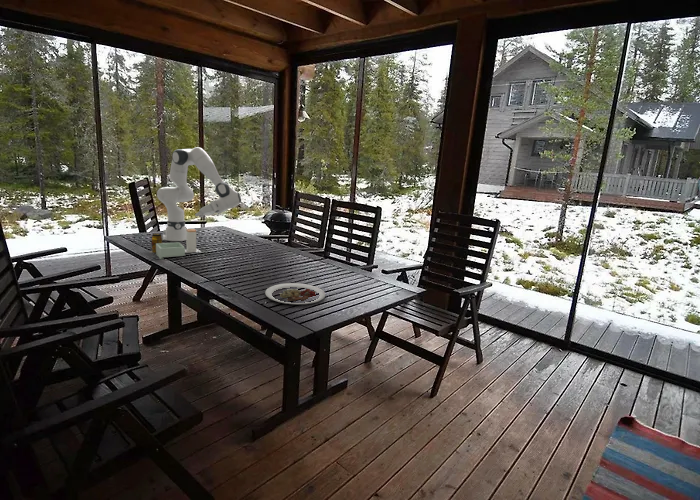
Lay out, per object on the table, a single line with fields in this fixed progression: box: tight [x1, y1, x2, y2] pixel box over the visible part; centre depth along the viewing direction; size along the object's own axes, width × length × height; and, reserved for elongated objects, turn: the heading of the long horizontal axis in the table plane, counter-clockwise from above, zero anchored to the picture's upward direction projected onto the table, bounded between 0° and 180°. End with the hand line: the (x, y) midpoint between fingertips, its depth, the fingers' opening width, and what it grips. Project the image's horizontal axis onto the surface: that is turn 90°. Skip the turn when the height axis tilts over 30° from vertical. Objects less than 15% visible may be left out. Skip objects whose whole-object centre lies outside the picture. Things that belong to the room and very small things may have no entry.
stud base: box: [185, 247, 202, 254], centre depth 257 cm, size 10×10×8 cm
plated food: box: [264, 282, 326, 305], centre depth 196 cm, size 30×30×3 cm
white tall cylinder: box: [185, 228, 197, 253], centre depth 256 cm, size 5×5×14 cm
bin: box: [155, 241, 186, 260], centre depth 245 cm, size 14×14×7 cm
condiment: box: [150, 232, 163, 254], centre depth 252 cm, size 7×8×12 cm
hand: (197, 215), depth 251 cm, fingers open, 8 cm apart
